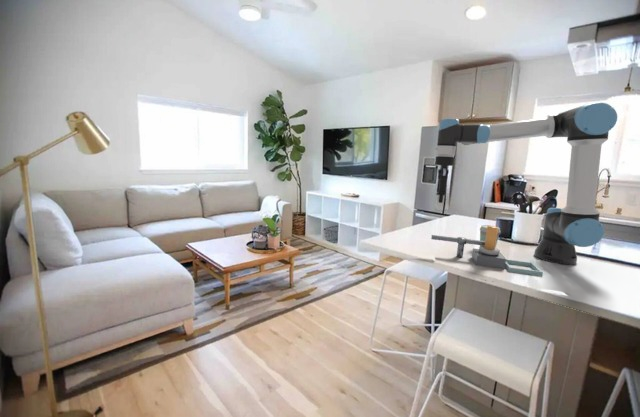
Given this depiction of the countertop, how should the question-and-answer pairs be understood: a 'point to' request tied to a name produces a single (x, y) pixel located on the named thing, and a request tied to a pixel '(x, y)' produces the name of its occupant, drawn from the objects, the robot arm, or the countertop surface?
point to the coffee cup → (483, 233)
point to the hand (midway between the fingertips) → (438, 208)
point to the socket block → (488, 259)
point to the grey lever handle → (459, 243)
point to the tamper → (490, 242)
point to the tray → (533, 272)
